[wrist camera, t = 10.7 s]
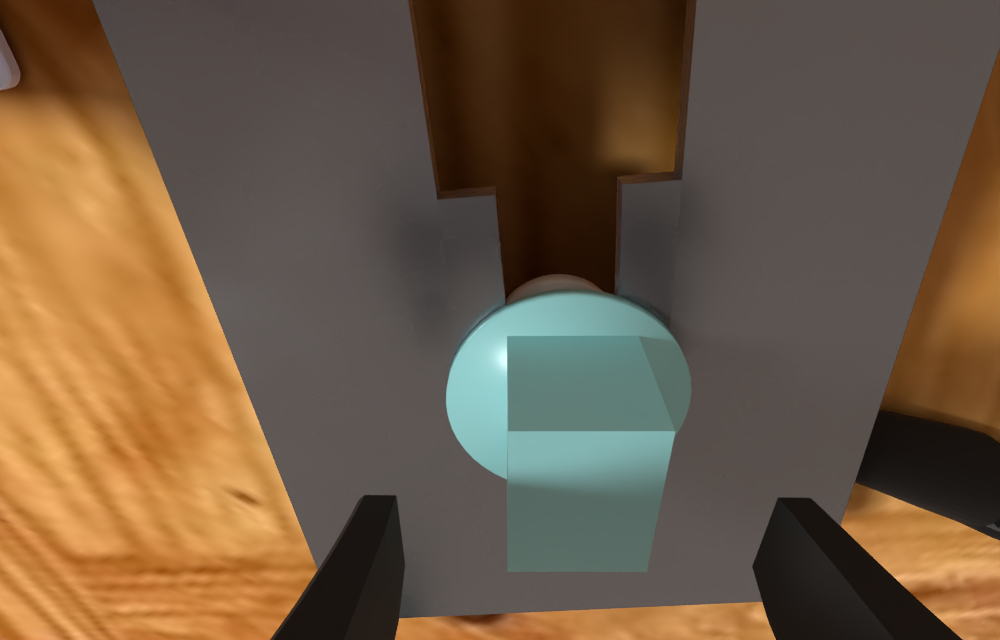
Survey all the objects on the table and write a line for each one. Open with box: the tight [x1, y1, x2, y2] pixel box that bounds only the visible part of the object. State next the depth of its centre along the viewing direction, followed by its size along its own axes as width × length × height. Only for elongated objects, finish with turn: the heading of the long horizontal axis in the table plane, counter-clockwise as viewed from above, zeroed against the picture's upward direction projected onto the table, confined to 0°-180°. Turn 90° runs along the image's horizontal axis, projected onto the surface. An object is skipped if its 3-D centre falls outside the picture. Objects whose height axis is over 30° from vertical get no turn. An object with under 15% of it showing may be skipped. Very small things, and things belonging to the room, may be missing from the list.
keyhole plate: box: [92, 0, 1000, 618], centre depth 15 cm, size 16×22×4 cm
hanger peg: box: [446, 274, 691, 572], centre depth 14 cm, size 6×6×7 cm
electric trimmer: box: [855, 410, 1000, 540], centre depth 20 cm, size 4×16×3 cm, turn 68°
